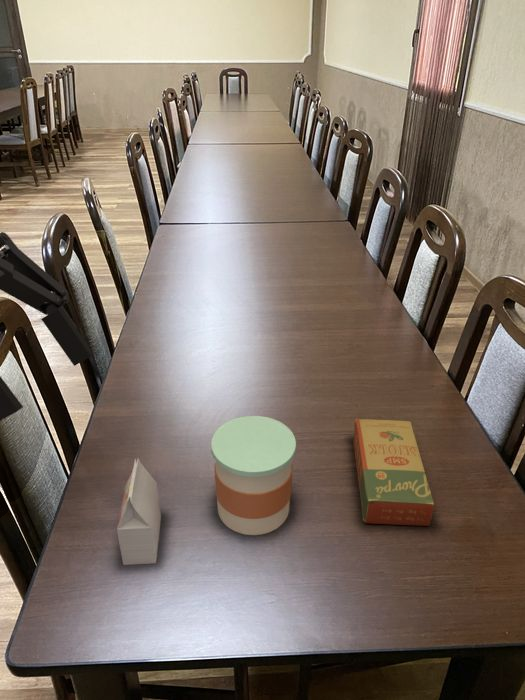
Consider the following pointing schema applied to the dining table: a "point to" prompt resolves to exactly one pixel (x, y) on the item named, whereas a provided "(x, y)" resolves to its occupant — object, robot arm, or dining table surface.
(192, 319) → the dining table surface
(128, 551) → the paper tea packet
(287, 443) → the coffee cup
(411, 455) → the carton
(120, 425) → the dining table surface
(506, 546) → the dining table surface
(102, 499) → the dining table surface
